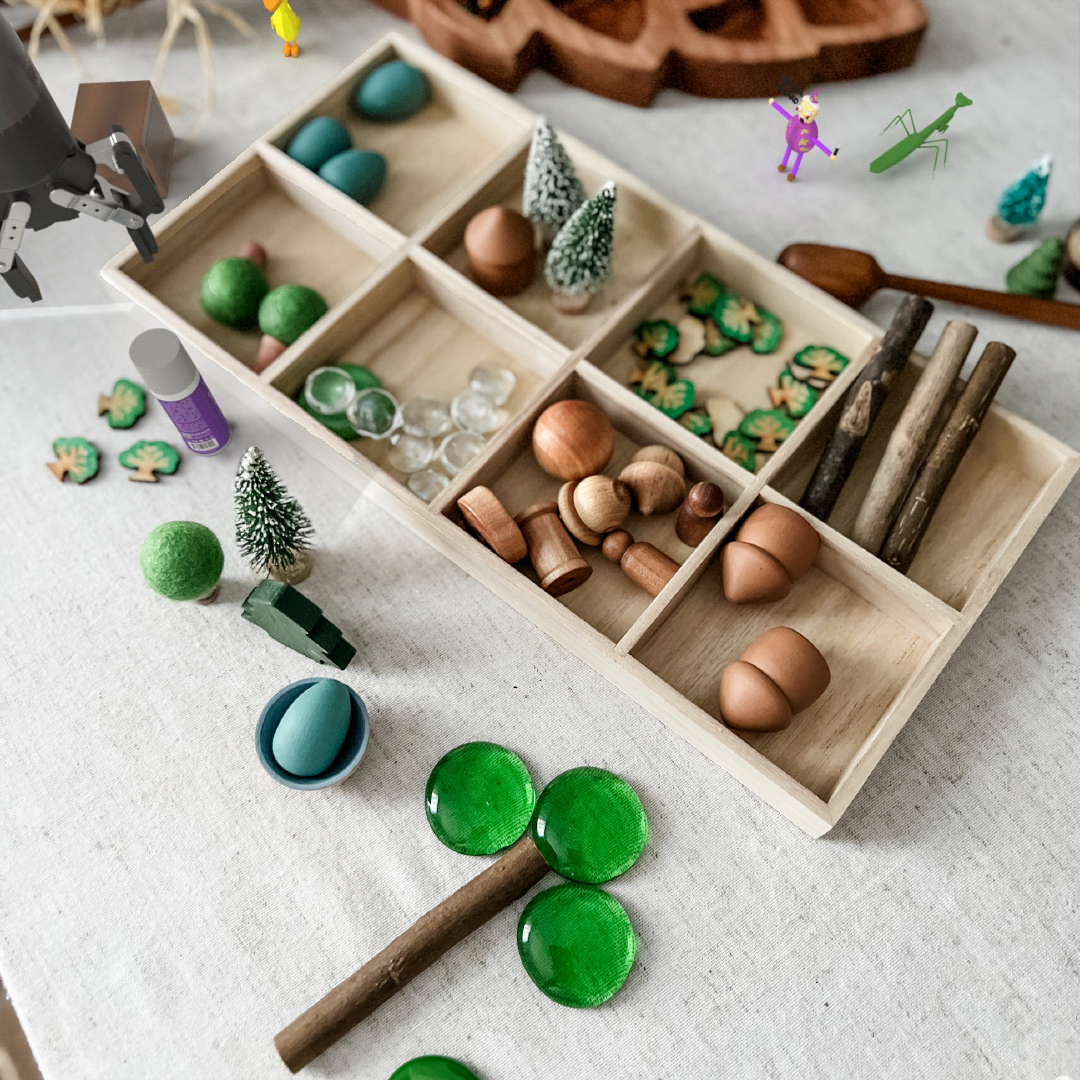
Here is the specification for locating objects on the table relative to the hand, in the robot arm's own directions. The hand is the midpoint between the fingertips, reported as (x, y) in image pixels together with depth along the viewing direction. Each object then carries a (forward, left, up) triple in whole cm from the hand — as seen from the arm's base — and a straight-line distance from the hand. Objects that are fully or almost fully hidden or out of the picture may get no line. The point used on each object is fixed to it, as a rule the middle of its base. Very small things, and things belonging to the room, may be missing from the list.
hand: (92, 274), depth 71 cm
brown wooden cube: (-11, +40, -27) cm, 50 cm away
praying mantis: (+81, +36, -27) cm, 93 cm away
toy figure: (+6, +59, -27) cm, 65 cm away
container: (0, +2, -27) cm, 27 cm away
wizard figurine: (+66, +34, -27) cm, 79 cm away
